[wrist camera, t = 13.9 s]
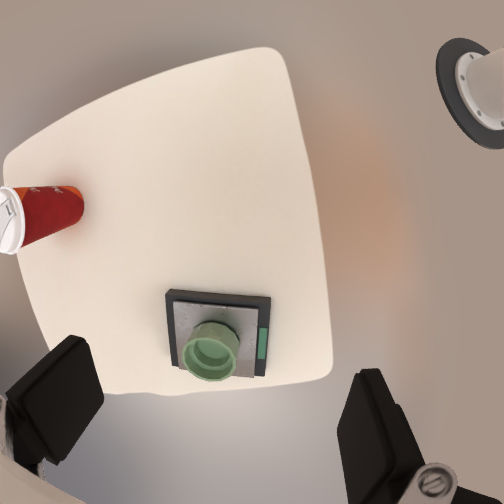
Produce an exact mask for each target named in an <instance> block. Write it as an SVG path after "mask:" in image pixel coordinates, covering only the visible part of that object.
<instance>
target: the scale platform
mask: <svg viewBox="0 0 504 504" xmlns="http://www.w3.org/2000/svg"><path fill="white" fill-rule="evenodd" d="M173 308H174V321H175V333H176V344H177V354H178V364H179V369H184V370H187V368H186V367H185V365H184V363H183V361H182V350H183V348H184V346H185V345H186V343H187V341H188V339H189V337H190V335H191V333H192V331H193V329H194V328H196V327H198V326H199V325H201V324H203V323H212V322H214V323H217V324H221V325H224V326H226V327H227V328H229V329H230V330H231V331H233V332H234V333H235V335H236V337H237V339H238V341H239V355H238V359H237V364H236V369H235V370H234V372H233V373H232V374H231V376H239V377H251V378H254V372H255V356H256V341H257V324H258V308H251V307H238V306H226V305H215V304H204V303H194V302H185V301H176V300H174V302H173Z"/></svg>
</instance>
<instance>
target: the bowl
mask: <svg viewBox="0 0 504 504" xmlns="http://www.w3.org/2000/svg"><path fill="white" fill-rule="evenodd" d="M238 355H239V341H238V339H237V337H236V335H235V333H234V332H233V331H231V330H230V329H229V328H227V327H226V326H224V325H221V324H217V323H214V322H212V323H203V324H201V325H199V326H198V327H196V328H194V329H193V331H192V333H191V335H190V337H189V339H188V341H187V343H186V345H185V346H184V348H183V350H182V361H183V363H184V365H185V367H186V368H187V370H188V371H189V372H190V373H192V374H193V375H194V376H196V377H197V378H200V379H203V380H206V381H222V380H224V379H226V378H228V377H230V376H231V374H232V373H233V372H234V370H235V369H236V364H237V359H238Z"/></svg>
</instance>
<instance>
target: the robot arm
mask: <svg viewBox="0 0 504 504" xmlns="http://www.w3.org/2000/svg"><path fill="white" fill-rule="evenodd" d="M455 78H456V83H457V87H458V90H459V93H460V96H461V98H462V100H463V102H464V104H465V105H466V107H467V109H468V110H469V112H470V113H471V114H472V116H473V117H474V118H475V119H476V120H477V121H478V122H479V123H480V124H482V125H483V126H484V127H486V128H488V129H491V130H502V129H504V47H502V48H500V49H498V50H495V51H493V52H491V53H489V54H487V55H485V56H483V55H481V54H478V53H474V52H469V53H466V54H464V55H462V56H461V57H460V58H459V59H458V61H457V63H456V66H455ZM6 396H7V397H8V400H7V401H5V399H4V397H3V396H1V395H0V504H87V503H85V502H83V501H80V500H79V499H77V498H74V497H73V496H71V495H69V494H67V493H65V492H63V491H61V490H59V489H57V488H56V487H54V486H52V485H51V484H49V483H47V482H46V480H45V475H44V469H43V463H42V460H43V458H44V457H45V458H46V460H47V461H49V462H51V463H53V464H55V465H56V466H57V465H58V464H59V462H60V461H63V460H64V459H65V458H66V457H67V455H68V454H69V452H70V451H71V449H72V448H73V446H74V445H75V443H76V442H77V440H78V439H79V437H80V436H81V434H82V433H83V432H84V430H85V428H86V427H87V426H88V424H89V423H90V421H91V420H92V418H93V417H94V415H95V414H96V413H97V411H98V410H99V408H100V407H101V406H102V404H103V402H104V395H103V391H102V388H101V385H100V382H99V379H98V376H97V372H96V369H95V365H94V362H93V358H92V355H91V351H90V347H89V344H88V343H87V342H86V340H85V339H84V338H82V337H78V336H75V335H69V336H68V337H66V338H65V339H64V340H63V341H62V342H61V343H60V344H58V345H57V346H56V347H55V348H54V349H53V350H52V351H50V352H49V353H48V354H47V355H46V356H45V357H44V358H43V359H41V360H40V361H39V362H38V363H37V364H36V365H35V366H34V367H33V368H32V369H30V370H29V371H28V372H27V373H26V374H25V375H24V376H23V377H22V378H21V379H20V380H19V381H17V382H16V383H15V384H14V385H13V386H12V387H11V388H10V389H9V390H8V391H7V392H6ZM337 437H338V442H339V448H340V454H341V460H342V466H343V471H344V478H345V484H346V490H347V497H348V504H502V503H501V502H500V501H499V500H497V499H495V498H491V497H488V496H485V495H482V494H479V493H476V492H473V491H470V490H468V489H465V488H462V487H459V486H457V483H458V481H457V476H456V474H455V472H454V471H453V470H452V469H451V468H450V467H449V466H447V465H445V464H442V463H429V464H425V462H424V459H423V457H422V454H421V452H420V450H419V447H418V444H417V442H416V440H415V437H414V435H413V433H412V431H411V428H410V426H409V424H408V421H407V419H406V417H405V415H404V412H403V410H402V408H401V407H400V405H398V404H395V402H394V400H393V398H392V395H391V393H390V391H389V389H388V387H387V384H386V382H385V380H384V378H383V376H382V374H381V371H380V370H379V369H378V368H373V369H362V370H361V371H360V373H356V374H355V376H354V379H353V382H352V385H351V388H350V392H349V395H348V398H347V401H346V404H345V407H344V410H343V413H342V416H341V418H340V421H339V424H338V427H337Z"/></svg>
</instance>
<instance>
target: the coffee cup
mask: <svg viewBox="0 0 504 504" xmlns="http://www.w3.org/2000/svg"><path fill="white" fill-rule="evenodd" d="M83 211H84V201H83V198H82V195H81V193H80V192H79V191H78V190H77V189H76V188H74V187H71V186H45V187H22V188H12V187H10V186H3V187H1V188H0V252H1V253H7V254H15V253H16V252H18V251H19V249H20V248H21V247H23V246H26V245H28V244H30V243H32V242H34V241H37V240H39V239H41V238H44V237H46V236H48V235H50V234H53V233H55V232H57V231H60V230H62V229H65V228H67V227H69V226H71V225H73V224H75V223H77V222H78V221H79V220H80V219H81V217H82V215H83Z"/></svg>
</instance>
